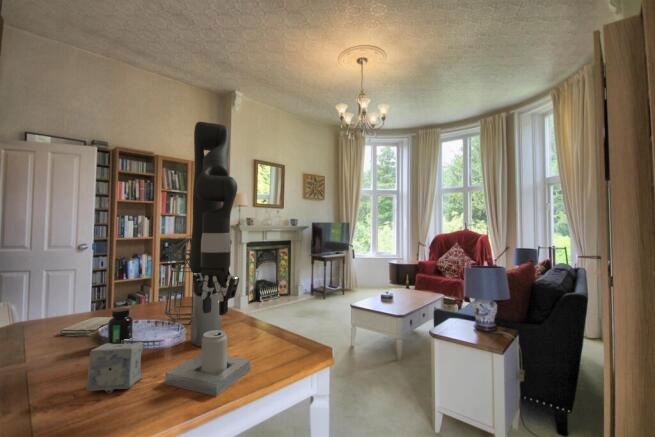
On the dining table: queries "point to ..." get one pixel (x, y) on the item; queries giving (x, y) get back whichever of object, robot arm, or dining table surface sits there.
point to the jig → (207, 375)
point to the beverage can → (214, 352)
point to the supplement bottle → (120, 326)
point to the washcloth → (86, 327)
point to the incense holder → (114, 366)
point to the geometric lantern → (178, 279)
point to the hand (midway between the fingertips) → (215, 313)
